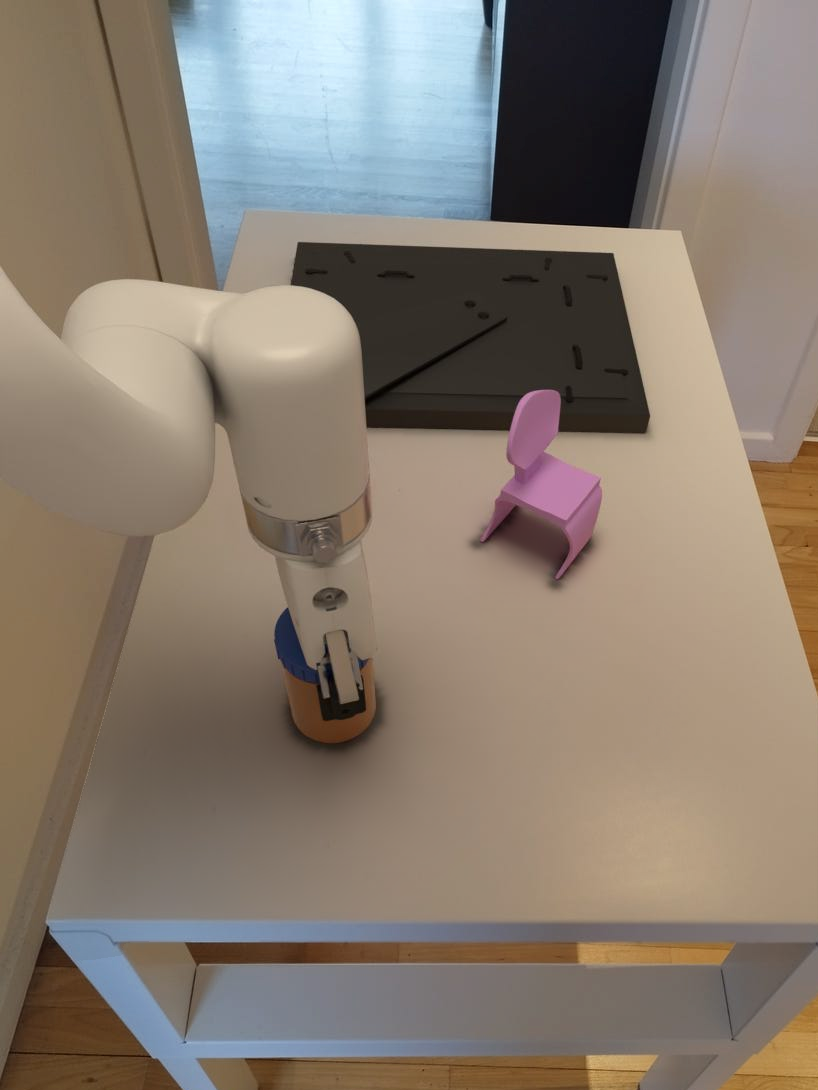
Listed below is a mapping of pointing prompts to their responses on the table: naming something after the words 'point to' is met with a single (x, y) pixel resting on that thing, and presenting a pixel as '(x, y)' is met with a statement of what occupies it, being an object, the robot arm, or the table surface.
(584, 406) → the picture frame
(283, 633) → the jar lid
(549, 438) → the toy chair
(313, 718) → the jar
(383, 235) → the table surface
